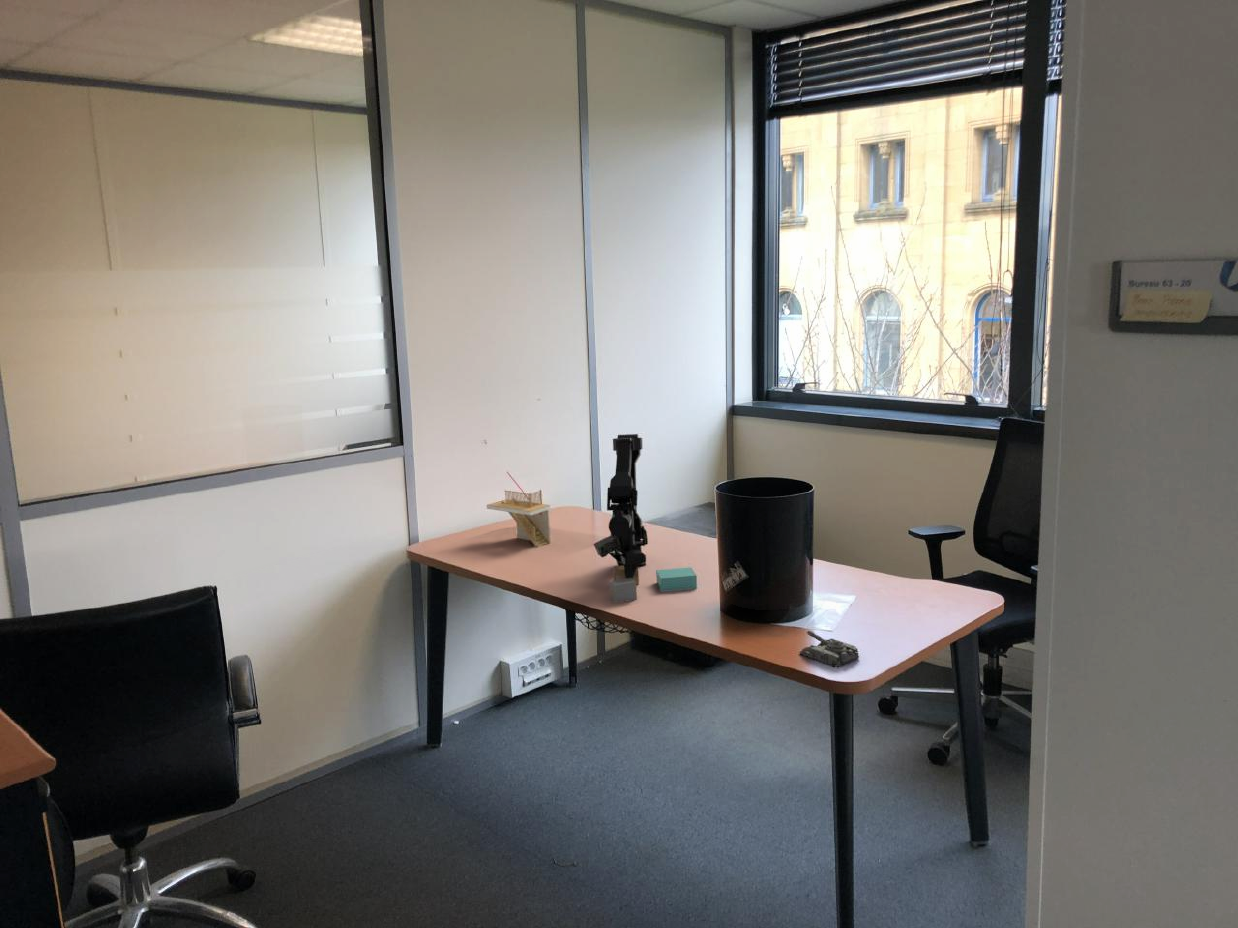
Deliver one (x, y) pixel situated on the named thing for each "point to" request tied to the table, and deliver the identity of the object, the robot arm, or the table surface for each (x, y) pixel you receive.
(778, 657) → the table surface
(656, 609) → the table surface
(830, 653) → the tank toy
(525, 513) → the architectural model
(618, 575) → the walnut brick
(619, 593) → the charcoal brick
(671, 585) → the teal brick
